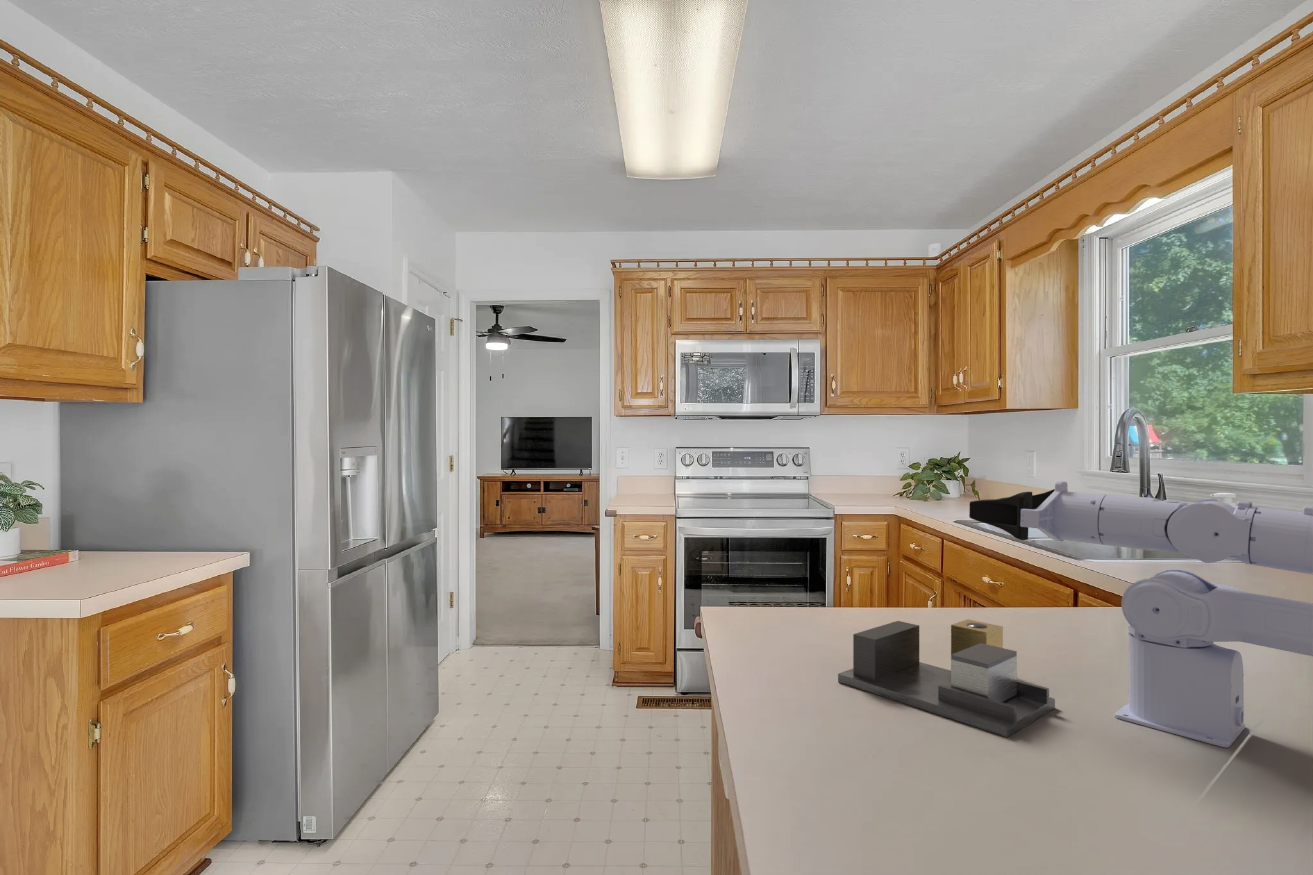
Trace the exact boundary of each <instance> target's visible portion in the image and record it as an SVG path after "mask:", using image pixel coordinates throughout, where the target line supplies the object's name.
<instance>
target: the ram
mask: <svg viewBox="0 0 1313 875" xmlns="http://www.w3.org/2000/svg"><path fill="white" fill-rule="evenodd" d="M1017 653H1018V652H1017V650H1013V649H1009V648H1004V647H1003V648H1000V647H996V646H991V645H987V644H983V643H980V644H977V645H975V646H972V647H970V648H967V649H965V650H962V651H959V652H957V653H954V654H952V655H951V654H950V670H951V688H954V689H957V690H961V691H964V692H968V693H971V694H975V695H978V696H981V697H985V698H988V699H992V700H995V701H999V702H1003V701H1005V700H1007V699H1009V698H1011V697H1013V696H1014V695H1016V694H1017V680H1018V675H1017V674H1018V669H1017V668H1018V665H1017V662H1018V660H1017V657H1018V656H1017Z"/></svg>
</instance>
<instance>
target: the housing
mask: <svg viewBox="0 0 1313 875" xmlns="http://www.w3.org/2000/svg"><path fill="white" fill-rule="evenodd" d="M1003 629H1004V627H1003V626H1002V625H996V624H992V623H987V622H984V621H983V622H982V621H978V620H975V619H974V620H973V619H969V618H968V619H964V620H962V621H959V622H955V623H953V624H950V633H951V634H950V656H951V655H952V654H954V653H957V652H959V651H962V650H965V649H967V648H970V647H972V646H975V645H977V644H980V643H983V644H987V645H991V646H996V647H1000V648H1004V646H1003V643H1004V641H1003V639H1004V635H1003V634H1004V633H1003V632H1004V631H1003Z"/></svg>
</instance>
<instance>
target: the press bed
mask: <svg viewBox="0 0 1313 875" xmlns="http://www.w3.org/2000/svg"><path fill="white" fill-rule="evenodd" d="M852 638H853V642H852V643H853V645H852V646H853V648H852V649H853V650H852V652H853V653H852V658H853V659H852V660H853V666H852V667H853V668H850V669H847V670H845V671H842V672H839V673H838V674H837V682H838V683H841V684H843V685H847V686H850V687H852V688H854V689H859V690H861V691H862V690H863V691H865V692H868V693H871V694H873V695H874V694H875V695H876V696H879V697H883V698H886V699H889V700H892V701H895V702H899V703H901V704H904V705H908V706H910V707H914V708H917V709H920V710H923V711H926V712H929V713H932V714H935V715H938V716H941V717H944V718H947V719H950V720H954V721H956V722H959V723H963V724H966V725H968V726H972V727H974V728H978V729H981V730H983V731H987V732H990V733H993V734H995V735H996V734H997V735H1000V736H1002V737H1005V738H1008V737H1010V736H1011V735H1014V734H1015V733H1017V732H1018V731H1020V730H1022V729H1023V728H1025V727H1026V726H1028V725H1030V724H1031V723H1033V722H1034V721H1036V720H1037V719H1039V718H1041V717H1043V716H1044V715H1046V714H1047V713H1049V712H1051V711H1052V710H1054V709H1055V708H1056V698H1054V697H1050V688H1049V687H1045V686H1041V685H1038V684H1035V683H1034V684H1033V683H1030V682H1026V681H1023V680H1018V679H1017V694H1016V695H1014V696H1013V697H1011V698H1009V699H1007V700H1005V701H1003V702H999V701H995V700H992V699H988V698H985V697H981V696H978V695H975V694H971V693H968V692H964V691H961V690H957V689H954V688H951V669H950V670H949V669H946V668H943V667H939V666H936V665H931V664H928V663H924V662H920V625H919V624H914V623H909V622H905V621H901V620H897V621H896V620H895V621H892V622H889V623H887V624H882V625H879V626H876V627H873V628H870V629H866V630H863V631H859V632H856V633H853V636H852Z"/></svg>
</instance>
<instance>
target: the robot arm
mask: <svg viewBox="0 0 1313 875" xmlns="http://www.w3.org/2000/svg"><path fill="white" fill-rule="evenodd" d="M968 511H969V514H968V515H969V519H972V520H974V521H977V522H980V523H982V524H983V523H984V524H985V525H986V524H987V525H989V526H993V527H995V528H998V529H1000V530H1003V531H1004V532H1006V533H1007V534H1009V535H1011V536H1012V537H1014V538H1015V539H1017V540H1020V541H1027V540H1029V528H1031V529H1037V530H1039V531H1041V533H1043V534H1045V535H1046V536H1047V537H1048V538H1050V539H1051V540H1053V541H1054V542H1055V541H1056V542H1064V541H1069V542H1077V543H1086V544H1092V545H1100V546H1101V545H1102V546H1111V547H1118V548H1125V549H1127V548H1128V549H1135V550H1141V551H1142V550H1143V551H1152V552H1154V551H1157V550H1158V551H1163V552H1172V553H1181V554H1183V555H1184V556H1186V557H1188V558H1191V559H1195V560H1199V561H1201V562H1203V563H1206V564H1211V563H1217V562H1221V561H1224V560H1227V559H1228V558H1230V557H1231V558H1234V559H1236V560H1238V561H1240V562H1242V563H1243V564H1246V565H1252V566H1255V567H1256V566H1257V567H1258V566H1259V567H1264V568H1270V569H1275V570H1276V569H1277V570H1284V571H1288V572H1296V573H1301V574H1308V575H1313V506H1304V507H1303V508H1302V511H1295V510H1285V509H1277V508H1269V507H1268V508H1267V507H1258V506H1253V502H1251V501H1245V500H1239V501H1237V502H1236V506H1235V507H1233V506H1232V505H1231V504H1229V503H1225V502H1222V501H1219V500H1218V499H1216V498H1209V499H1202V500H1199V501H1196V502H1194V503H1190V504H1188V503H1187V502H1185V501H1184V502H1183V501H1182V502H1181V501H1177V500H1175V499H1164V500H1161V499H1159V498H1155V497H1145V496H1130V495H1117V494H1116V495H1115V494H1105V493H1104V494H1101V493H1087V492H1077V491H1075V492H1074V491H1073V492H1072V491H1068V482H1067V481H1061V480H1060V481H1056V482H1055V484H1054V489H1051V490H1049V491H1045V492H1042V493H1037V494H1033V492H1032V491H1022V492H1019V493H1016V494H1014V495H1011V496H1007V497H1001V498H996V499H995V498H992V499H991V498H990V499H978V500H972V501H970V502H969V510H968ZM1121 611H1122V614H1123V616H1124V619H1125V620H1126V622H1127V623H1128V624H1129V626H1128V627H1127V628H1128V629H1127V632H1128V635H1127V636H1128V638H1127V640H1128V641H1127V642H1128V643H1127V644H1128V647H1127V648H1128V650H1127V651H1128V652H1127V653H1128V657H1127V658H1128V660H1127V662H1128V664H1127V665H1128V668H1127V669H1128V703H1126V704H1125V705H1124V706H1123V707H1121V708H1120V709H1118V710H1117V711H1116V712H1114V717H1115V718H1117V719H1118V720H1121V721H1125V722H1129V723H1134V724H1137V725H1140V726H1145V727H1147V728H1151V729H1155V730H1158V731H1162V732H1166V733H1170V734H1174V735H1177V736H1181V737H1184V738H1189V739H1191V740H1195V741H1199V742H1203V743H1206V744H1210V745H1213V746H1216V747H1217V746H1218V747H1221V748H1229V747H1231V746H1232V744H1233V743H1234V742H1235V740H1236V739H1237V738H1238V737H1239V736H1240V735H1241V733H1242V732H1243V731H1244V730H1245V729H1246V723H1245V720H1244V719H1245V712H1244V711H1245V710H1244V708H1245V706H1244V704H1245V703H1244V699H1245V697H1244V691H1245V690H1244V685H1245V684H1244V662H1243V656H1242V653H1241V652H1240V651H1238V650H1235V649H1231V648H1226V647H1222V646H1221V645H1218V644H1216V643H1218V642H1219V643H1220V642H1221V643H1222V642H1224V643H1225V642H1226V643H1228V642H1234V643H1235V642H1237V643H1239V642H1240V643H1245V644H1250V645H1255V646H1259V647H1265V648H1270V649H1275V650H1278V651H1279V650H1280V651H1285V652H1288V653H1289V652H1290V653H1294V654H1299V655H1305V656H1310V657H1313V602H1307V601H1302V600H1295V599H1290V598H1283V597H1277V596H1270V595H1265V594H1264V595H1263V594H1260V593H1259V594H1258V593H1253V592H1247V591H1245V590H1242V589H1240V588H1237V587H1234V586H1231V585H1226V584H1219V583H1215V582H1212V581H1210V580H1208V579H1205V578H1203V577H1201V576H1200V575H1198V574H1196V573H1194V572H1191V571H1189V570H1185V569H1181V568H1170V569H1165V570H1161V571H1160V572H1157V573H1156V574H1155V575H1154V576H1151V577H1149V578H1143V579H1140V580H1137V581H1136V582H1134V583H1132V584H1130V585H1129V586H1128V587H1127V588H1126V589H1125V590H1124V593H1123V595H1122V598H1121ZM1215 642H1216V643H1215Z"/></svg>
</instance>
